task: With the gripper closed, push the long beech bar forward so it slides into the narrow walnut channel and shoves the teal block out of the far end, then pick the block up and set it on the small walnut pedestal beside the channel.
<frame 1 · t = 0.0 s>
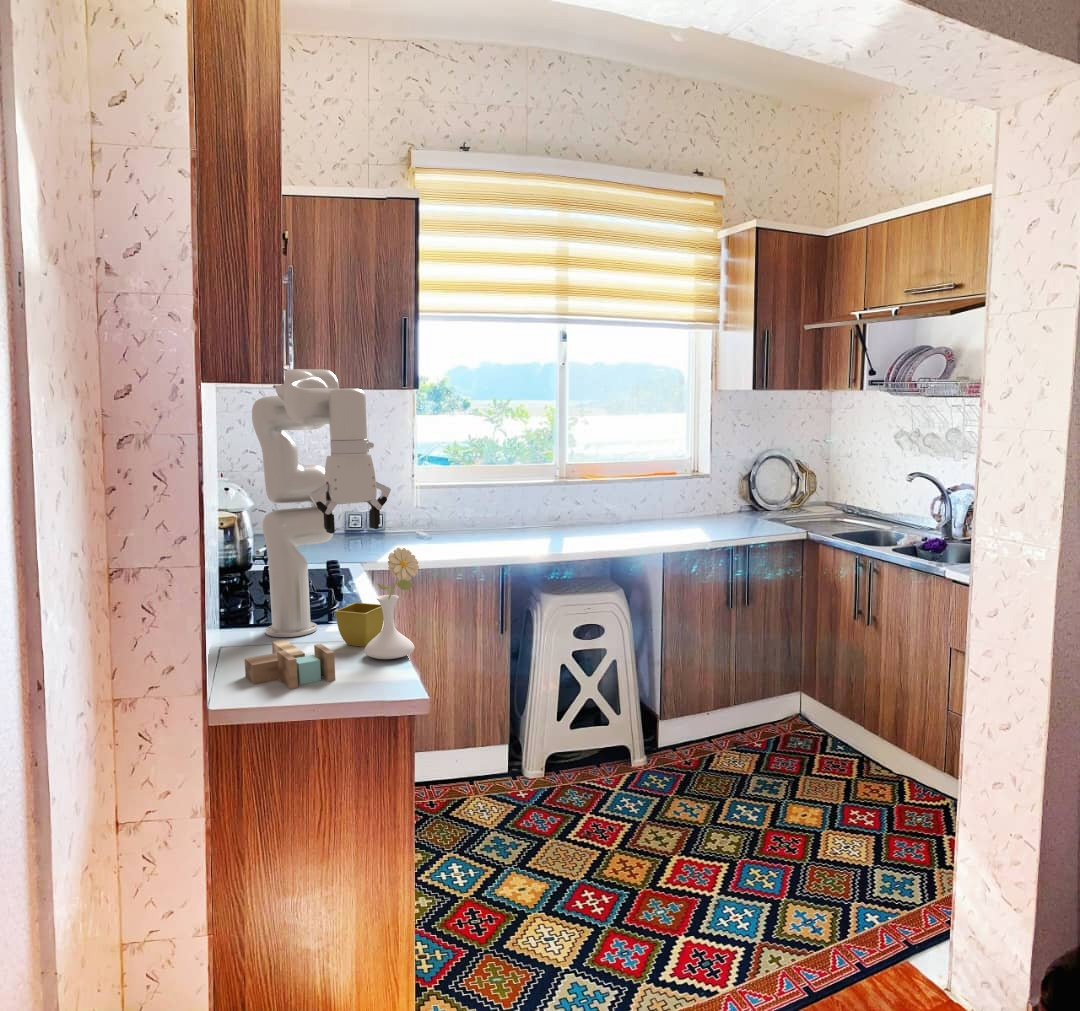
hand: (352, 530, 179), 31 cm above the counter, tool pointing down, fingers open, 9 cm apart
block: (306, 680, 180), on the counter
flower in vase: (393, 656, 197), on the counter
flower pot: (361, 644, 207), on the counter
pedestal: (263, 677, 182), on the counter
push bar: (288, 666, 190), on the counter
channel: (306, 679, 180), on the counter
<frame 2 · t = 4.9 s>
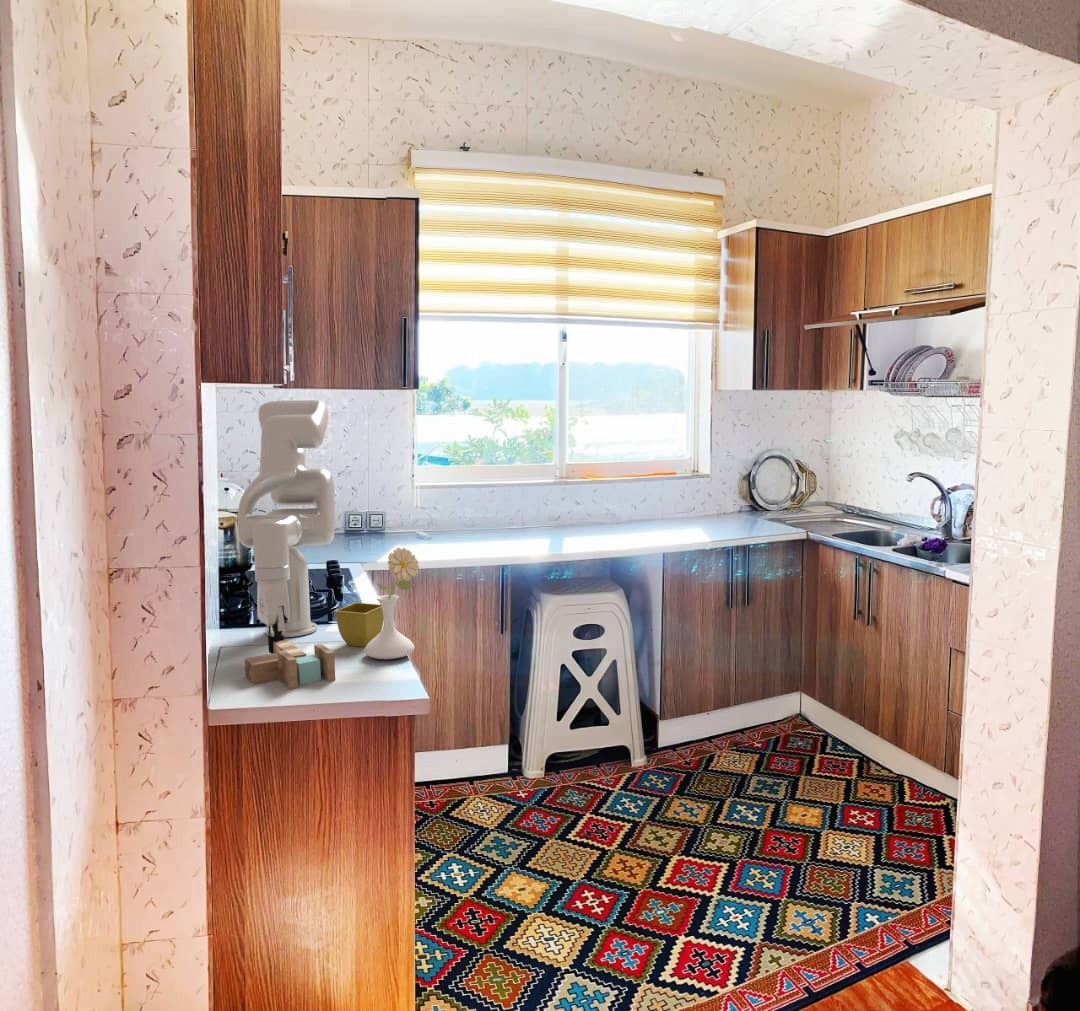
hand: (276, 651, 197), 1 cm above the counter, tool pointing down, fingers closed
push bar: (290, 667, 189), on the counter, touching gripper
everything else where it was.
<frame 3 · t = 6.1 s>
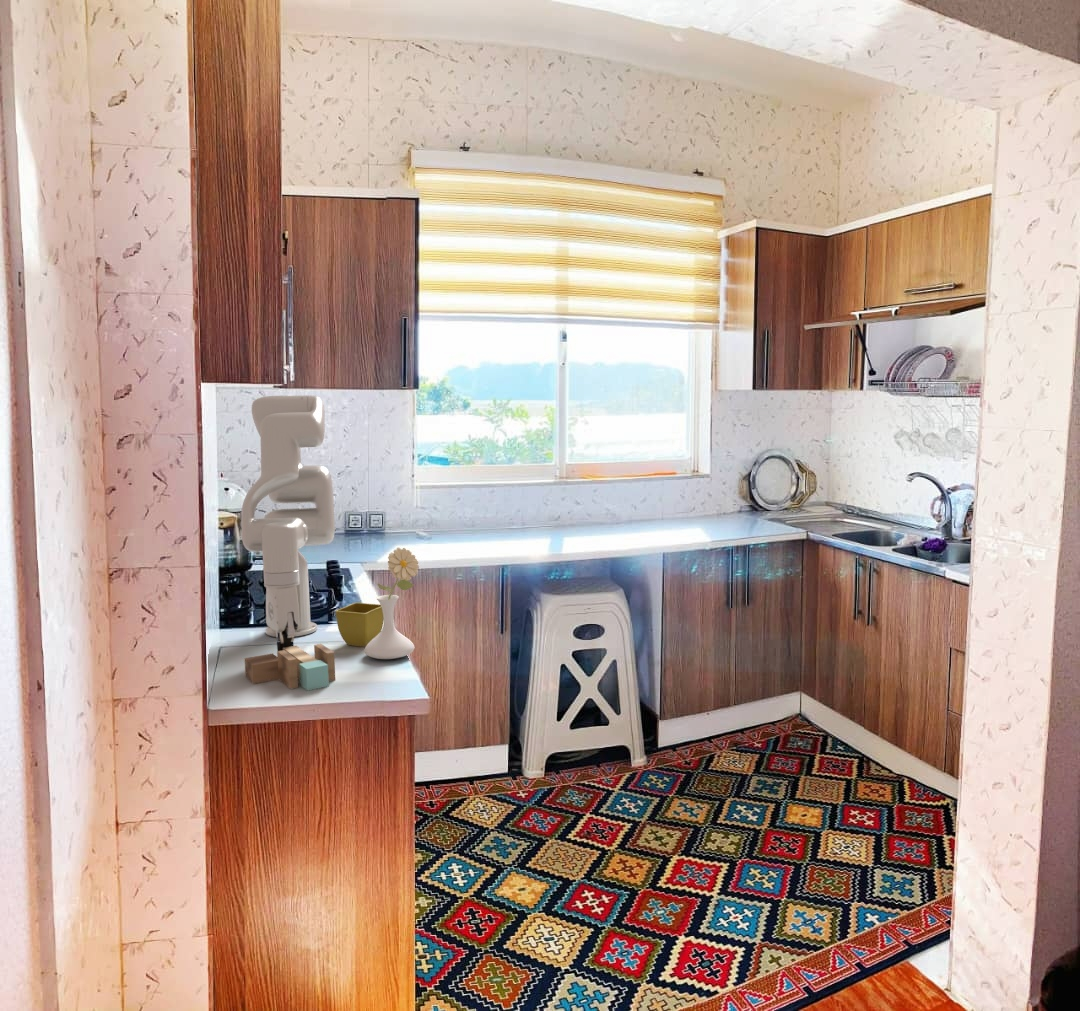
hand: (286, 658, 191), 1 cm above the counter, tool pointing down, fingers closed
block: (314, 685, 176), on the counter
push bar: (300, 674, 184), on the counter, touching gripper
everything else where it was.
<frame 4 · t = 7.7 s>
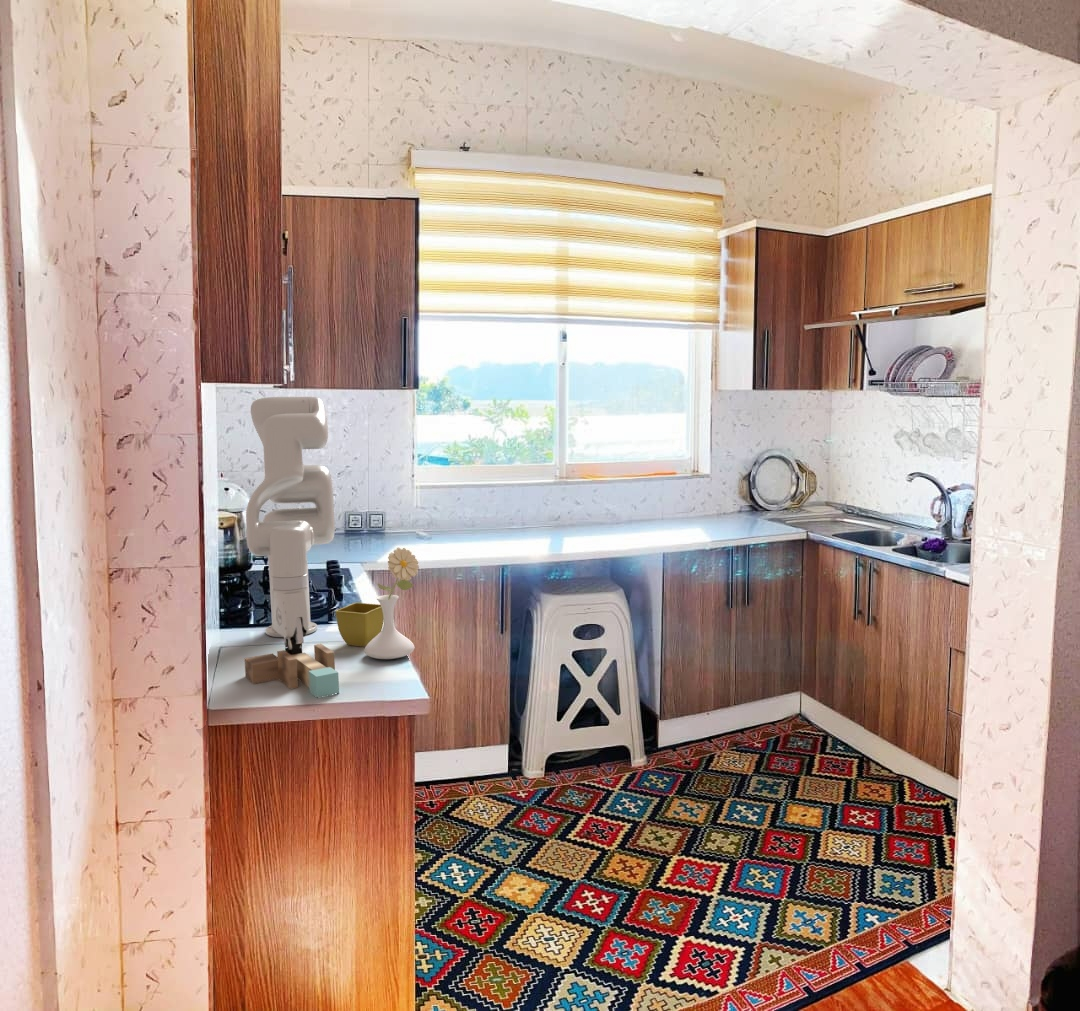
hand: (294, 665, 187), 1 cm above the counter, tool pointing down, fingers closed
block: (324, 693, 172), on the counter
push bar: (309, 682, 179), on the counter
everything else where it was.
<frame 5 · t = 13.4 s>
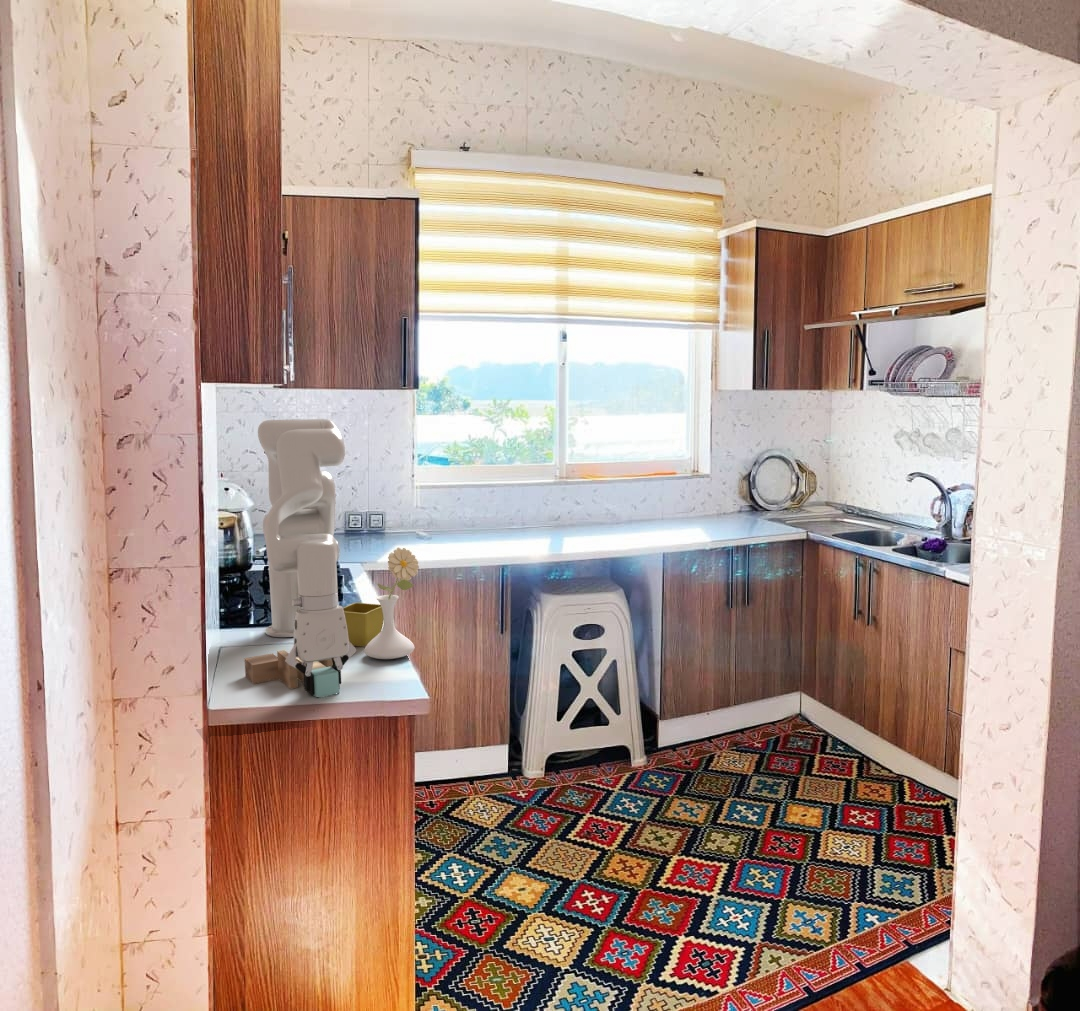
hand: (323, 689, 172), 0 cm above the counter, tool pointing down, fingers closed on block, 4 cm apart
block: (324, 693, 171), on the counter, touching gripper
everything else where it was.
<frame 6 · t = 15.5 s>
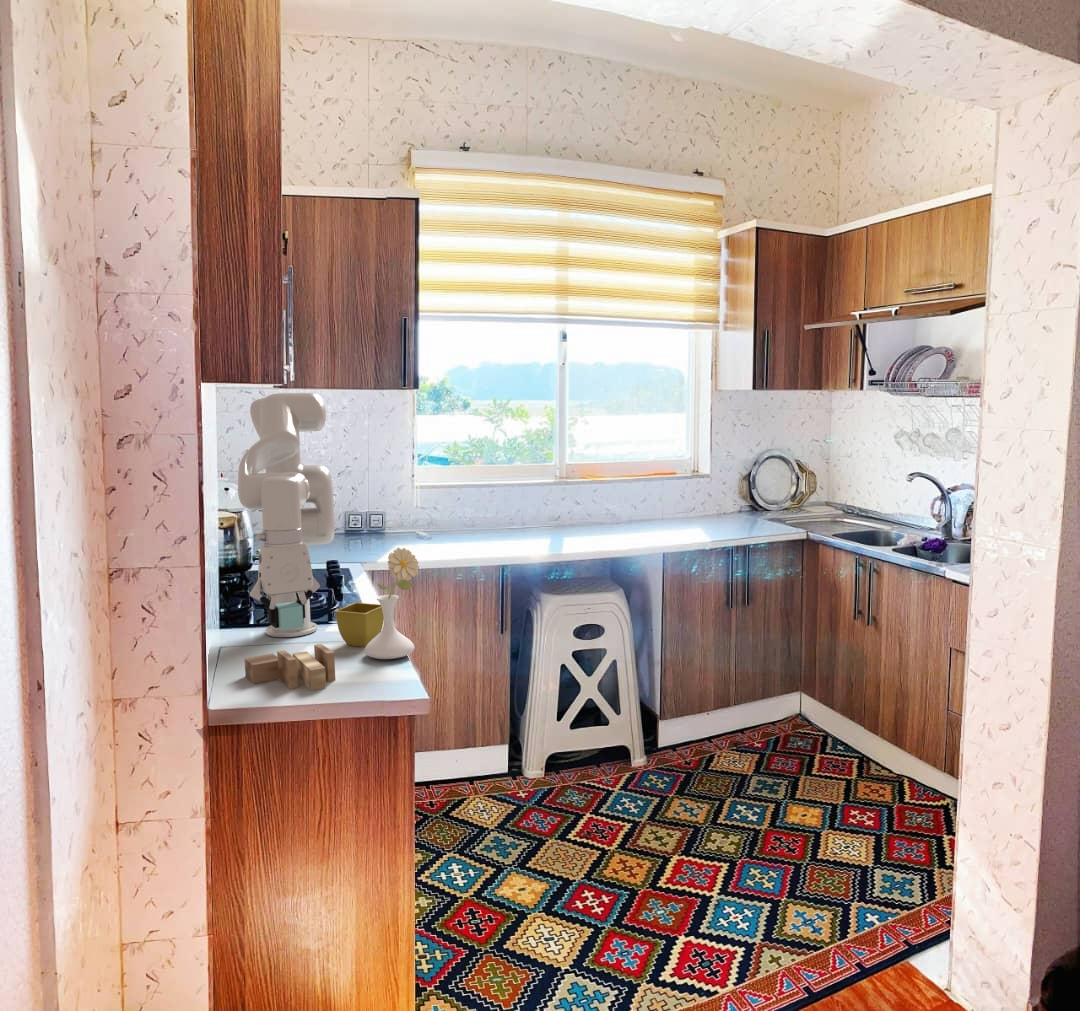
hand: (287, 623, 176), 13 cm above the counter, tool pointing down, fingers closed on block, 4 cm apart
block: (288, 626, 176), point 12 cm above the counter, touching gripper
everything else where it was.
when the fingers open (6 cm above the counter, at t = 17.8 s): block drops 1 cm, resting on pedestal.
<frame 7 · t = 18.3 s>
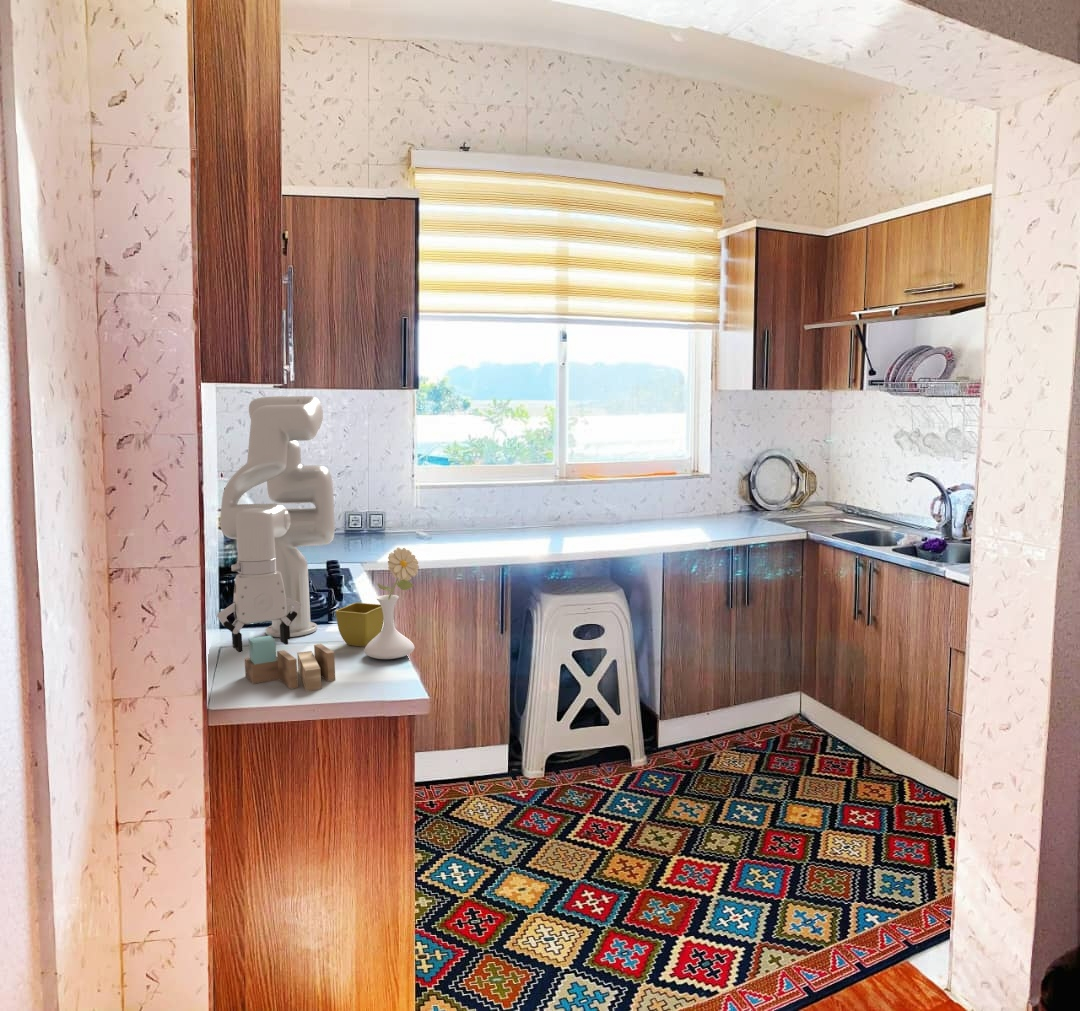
hand: (262, 646, 181), 7 cm above the counter, tool pointing down, fingers open, 9 cm apart
block: (263, 660, 181), point 4 cm above the counter, touching pedestal
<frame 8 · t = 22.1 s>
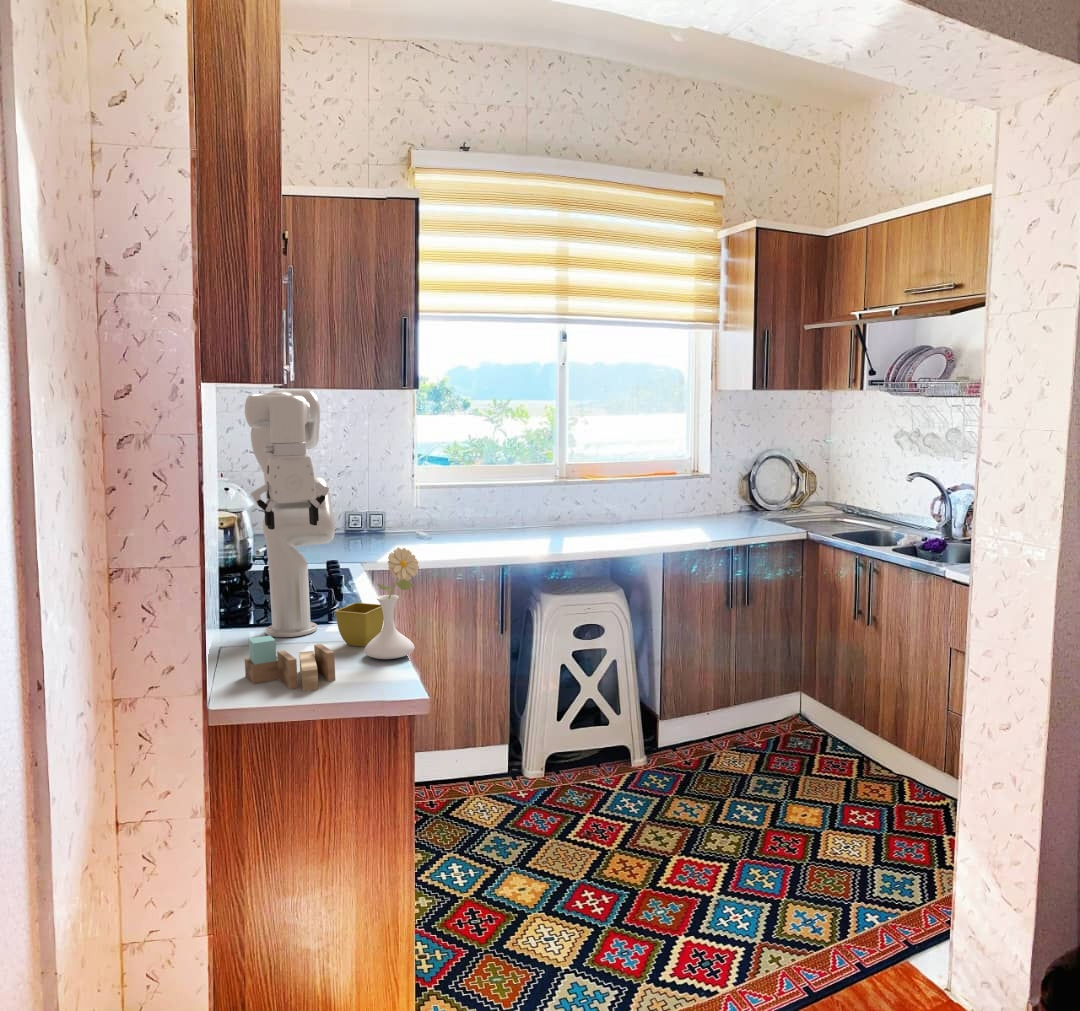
hand: (292, 526, 193), 30 cm above the counter, tool pointing down, fingers open, 9 cm apart
at the end: block inside the target area on the pedestal (0.8 cm from its centre), point 4.0 cm above the pedestal's base; block tilted 0°; the gripper is holding nothing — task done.
